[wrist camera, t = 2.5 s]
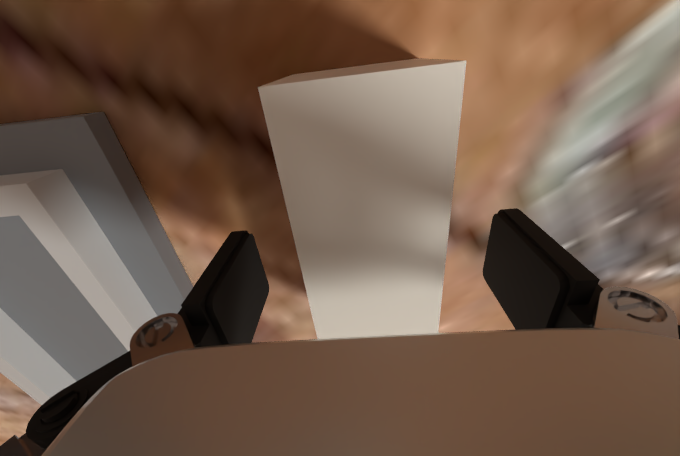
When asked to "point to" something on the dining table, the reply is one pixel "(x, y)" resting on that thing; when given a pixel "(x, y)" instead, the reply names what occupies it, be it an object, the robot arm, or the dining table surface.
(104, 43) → the dining table surface
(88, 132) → the tray
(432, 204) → the cream rectangular prism
